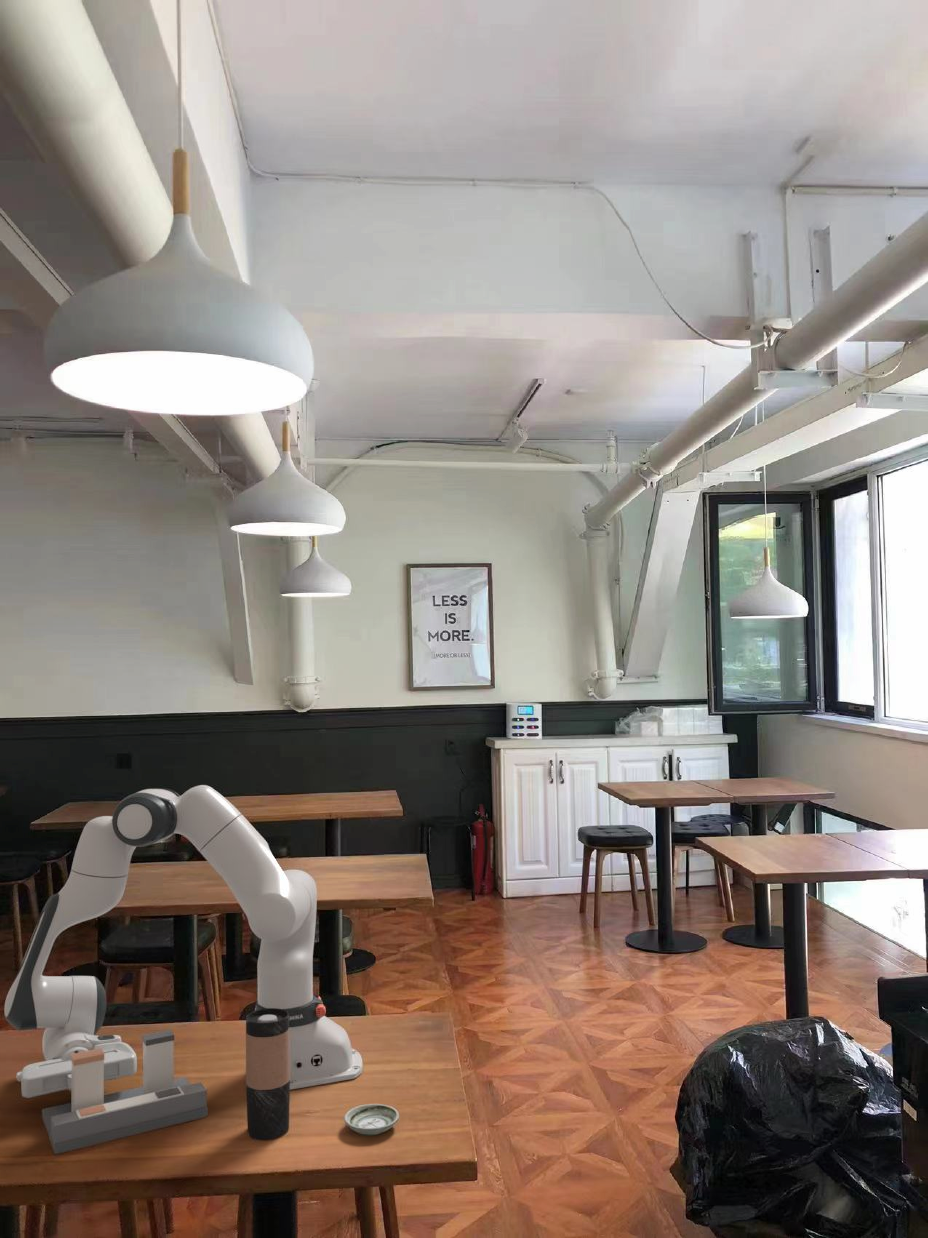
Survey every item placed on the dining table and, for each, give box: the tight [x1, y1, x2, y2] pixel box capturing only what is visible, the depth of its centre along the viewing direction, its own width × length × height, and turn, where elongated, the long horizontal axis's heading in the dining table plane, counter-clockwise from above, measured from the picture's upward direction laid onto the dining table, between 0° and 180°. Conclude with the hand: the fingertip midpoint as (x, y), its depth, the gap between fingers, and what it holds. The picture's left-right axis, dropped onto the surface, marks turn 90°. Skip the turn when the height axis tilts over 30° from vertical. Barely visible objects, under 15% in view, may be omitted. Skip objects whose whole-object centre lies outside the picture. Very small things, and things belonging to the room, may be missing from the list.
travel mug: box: [245, 1008, 291, 1141], centre depth 174 cm, size 8×8×20 cm
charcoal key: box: [141, 1029, 175, 1095], centre depth 185 cm, size 3×5×11 cm, turn 120°
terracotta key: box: [70, 1048, 105, 1112], centre depth 177 cm, size 3×5×11 cm, turn 120°
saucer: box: [343, 1103, 400, 1136], centre depth 174 cm, size 10×10×2 cm
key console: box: [41, 1076, 209, 1155], centre depth 180 cm, size 26×16×5 cm, turn 120°
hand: (86, 1086), depth 178 cm, fingers closed
